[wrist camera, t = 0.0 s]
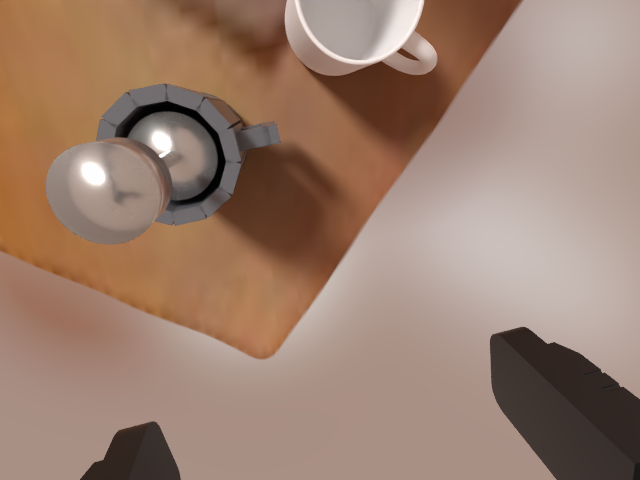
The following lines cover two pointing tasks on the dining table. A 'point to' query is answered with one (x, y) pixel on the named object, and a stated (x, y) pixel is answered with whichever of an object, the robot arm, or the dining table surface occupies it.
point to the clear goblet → (131, 177)
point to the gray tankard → (214, 118)
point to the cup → (357, 35)
